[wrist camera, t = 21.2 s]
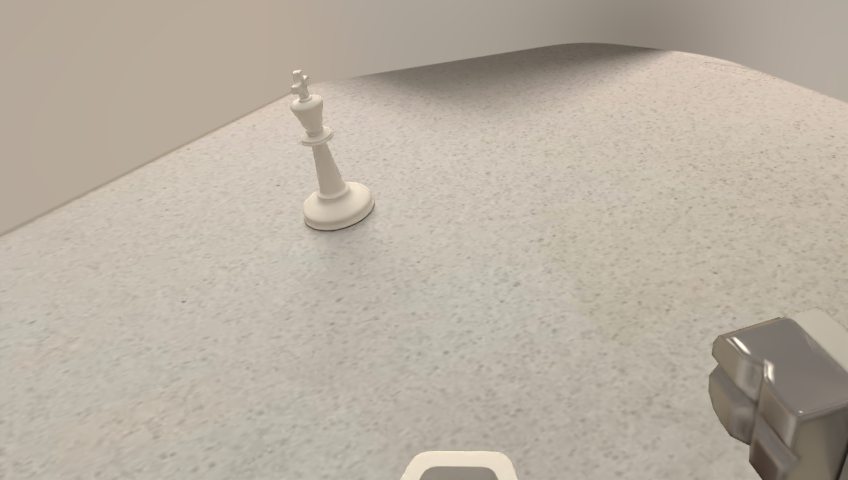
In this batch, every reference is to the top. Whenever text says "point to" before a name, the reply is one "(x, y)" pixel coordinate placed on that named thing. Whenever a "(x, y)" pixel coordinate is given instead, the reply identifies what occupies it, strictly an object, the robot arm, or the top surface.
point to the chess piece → (326, 169)
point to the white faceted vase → (460, 466)
